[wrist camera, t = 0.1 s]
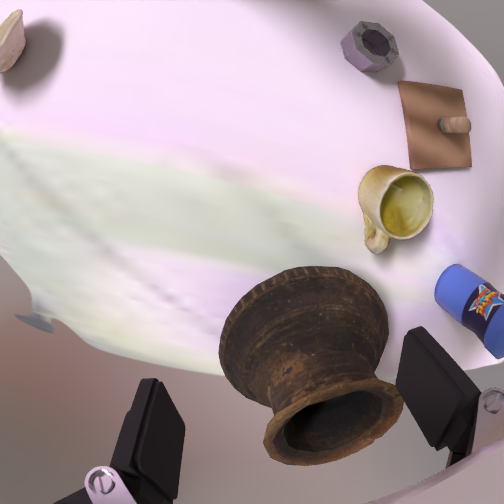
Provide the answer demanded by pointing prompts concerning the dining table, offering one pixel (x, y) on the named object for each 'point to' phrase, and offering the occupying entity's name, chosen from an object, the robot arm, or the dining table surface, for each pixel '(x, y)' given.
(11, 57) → the bowl
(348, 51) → the collar
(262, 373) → the ceramic pot
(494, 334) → the water bottle
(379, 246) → the mug
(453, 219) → the dining table surface
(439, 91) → the post block
